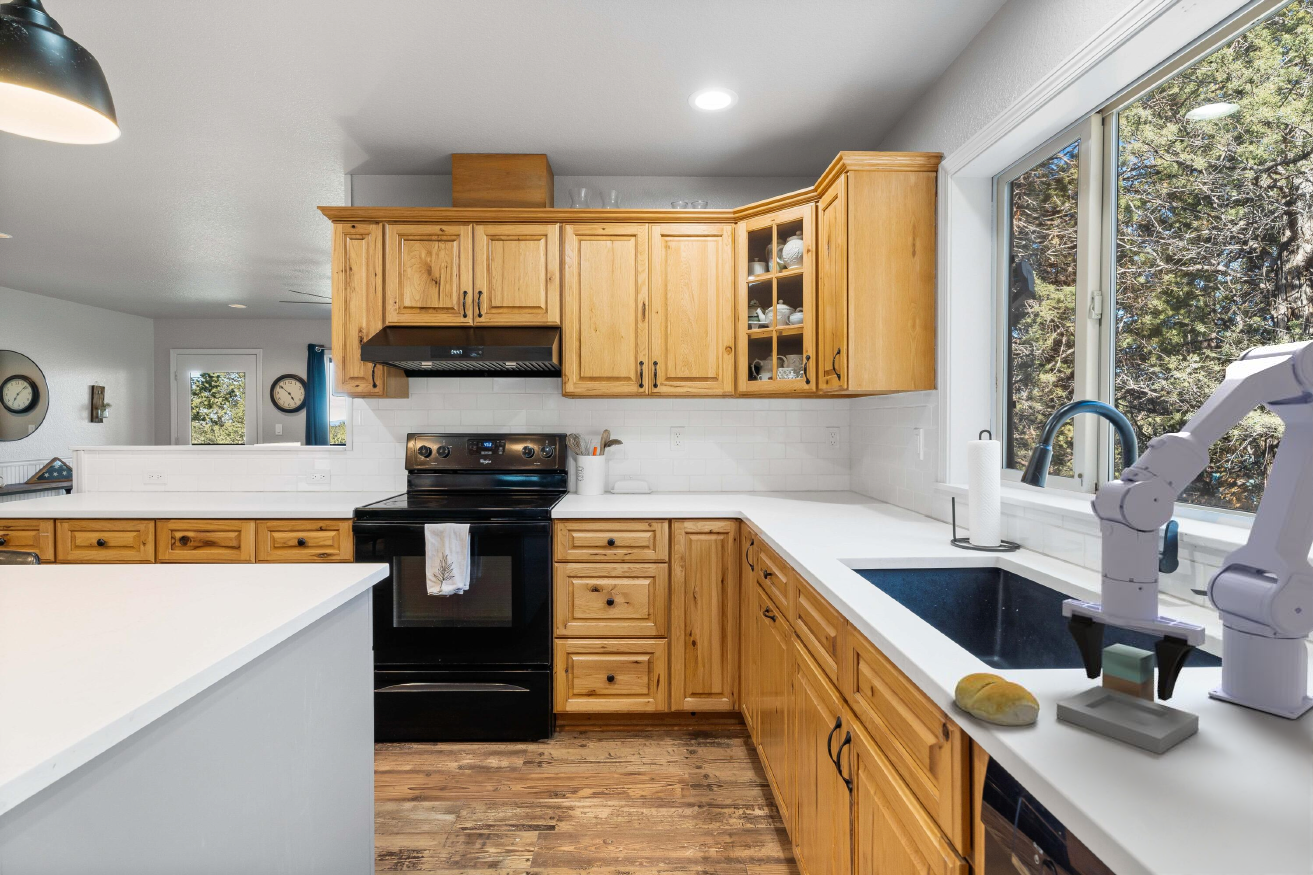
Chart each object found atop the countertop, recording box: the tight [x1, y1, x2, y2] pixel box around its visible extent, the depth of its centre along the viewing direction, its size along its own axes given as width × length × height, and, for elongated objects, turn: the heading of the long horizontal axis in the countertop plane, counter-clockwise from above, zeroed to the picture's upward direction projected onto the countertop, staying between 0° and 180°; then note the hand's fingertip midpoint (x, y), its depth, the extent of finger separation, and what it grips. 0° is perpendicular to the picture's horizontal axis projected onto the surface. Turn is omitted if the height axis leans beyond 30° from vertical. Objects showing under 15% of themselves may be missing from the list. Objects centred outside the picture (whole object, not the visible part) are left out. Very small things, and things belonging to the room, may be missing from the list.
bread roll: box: [954, 672, 1041, 726], centre depth 77 cm, size 8×9×4 cm
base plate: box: [1056, 685, 1200, 755], centre depth 73 cm, size 10×10×2 cm
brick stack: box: [1101, 643, 1156, 702], centre depth 80 cm, size 4×4×6 cm
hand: (1127, 687), depth 80 cm, fingers open, 7 cm apart
